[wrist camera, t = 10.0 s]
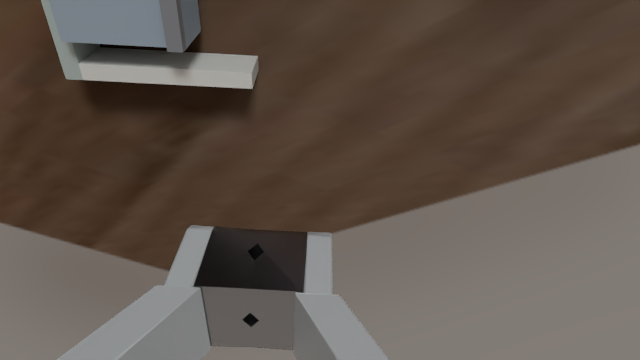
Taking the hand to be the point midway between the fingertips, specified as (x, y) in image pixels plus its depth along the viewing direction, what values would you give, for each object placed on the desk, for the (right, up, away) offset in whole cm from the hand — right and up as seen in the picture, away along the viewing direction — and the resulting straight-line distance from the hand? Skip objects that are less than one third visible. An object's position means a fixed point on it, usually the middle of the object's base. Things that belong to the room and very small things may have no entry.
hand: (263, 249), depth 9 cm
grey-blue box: (-11, +15, +20) cm, 28 cm away
